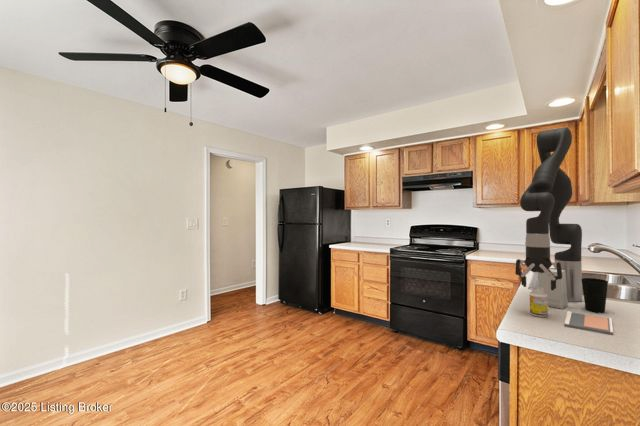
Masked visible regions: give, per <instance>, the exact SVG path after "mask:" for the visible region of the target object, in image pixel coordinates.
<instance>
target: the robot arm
mask: <svg viewBox="0 0 640 426" xmlns="http://www.w3.org/2000/svg"><path fill="white" fill-rule="evenodd" d="M572 134H573V133H572V132H571V129H570V128H568V127H565V126H564V127H558V128H554V129H553V128H552V129H548V130H542V131H539V133H537V135H536V147H537V153H538V156H539V157H538V158H539V161H540V165H539V166H538V167H537V168H536V170H535V171H534V174H533V176H532V177H533V178H532V179H531V183H530V184H529V186H528V187H527V188H526V190H525V191H524V192H523V194H522V195H521V197H520V200H519V206H520V207H521V209H522V210H523V211H525V212H539V214H538V215H537V216H536V217H529V218H527V219H526V221H525V228H526V229H525V230H526V231H525V242H524V245H525V259H520V258H517V259H516V261H515V275H516V276H519V277H520V279H521V284H520V285H521V286H523V287H524V288H526V287H527V274H529V273H530V272H532V273H538V272H539V273H544V272H545V273H546V274H547V275H548V276H549V277H550V278H551V290H553V291H554V289H556V280H558V279H562V270H565V273H566V286H567V299H568V302H573V303H575V302H576V303H577V302H583V287H582V280H581V279H582V278H583V277H582V275H583V273H582V272H583V270H582V267H583V266H582V242H583V240H582V239H583V229H582V226H581V225H580V224H578V223H560V216H561V215H562V213H563V211H564V210H565V208H566V206H567V205H568V204H569V203H570V201H571V199H572V197H573V195H574V194H573V186H572V179H571V178H570V177H569V175H568V174H567V173H566V172H565V171H564V170H562V168H560V167H561V165H562V163H563V162H564V160H565V158H566V156H567V154H568V152H569V150H570V148H571V146H572V142H573V141H572V140H573V136H572ZM551 242H552V244H555V245H570V247H569V248H568V249H566V250H562V251H561V250H560V251H556V252H555V253H554V256H553V257H554V261H553V262H552V261H551ZM523 264H524V265H525V266H526V267H527V268H526V269H525V270H524V271H523V272H522V271H521V266H523ZM552 266H553V267H554V270H557V276H554V274H553V273H552V272H551V271H550V270H549V269H551V267H552Z"/></svg>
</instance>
